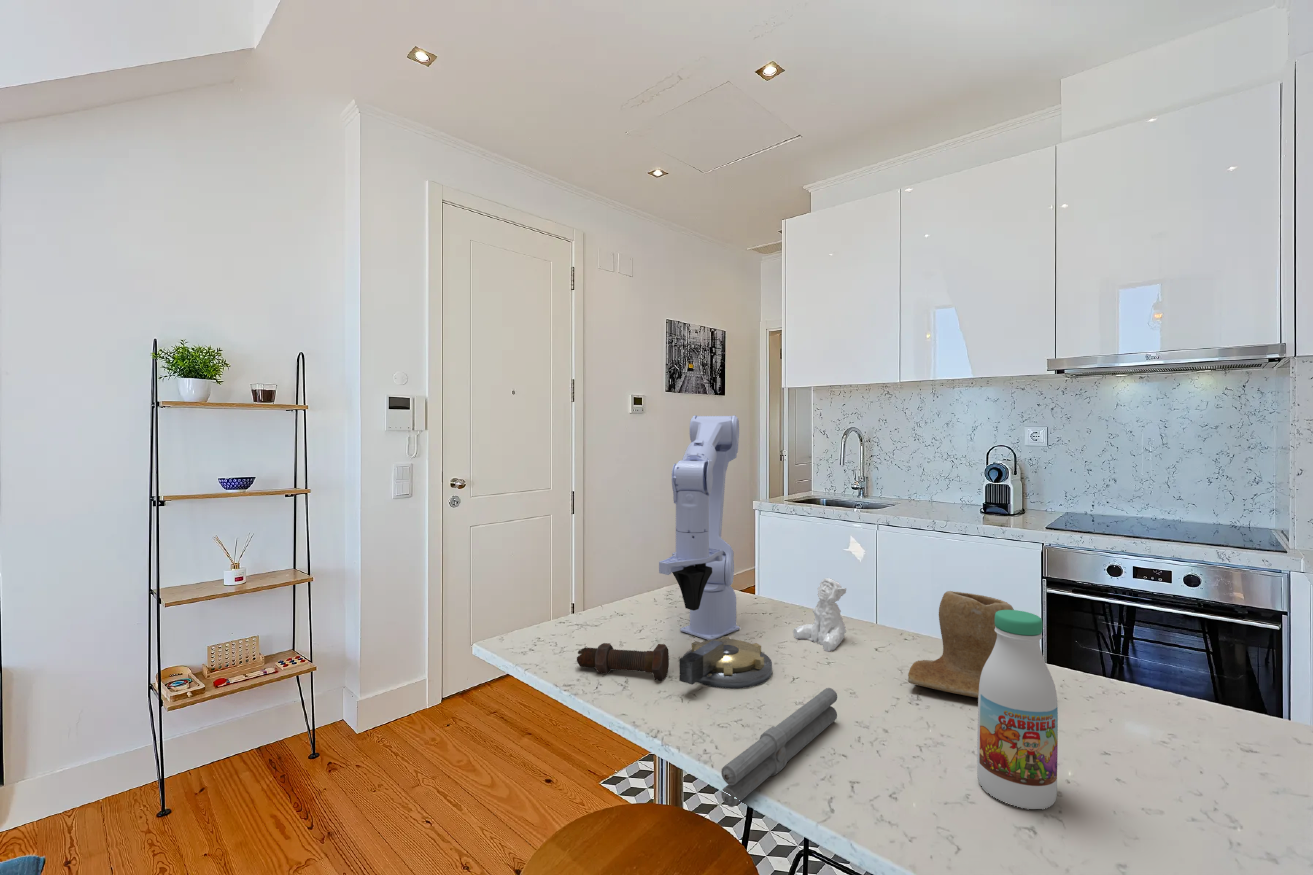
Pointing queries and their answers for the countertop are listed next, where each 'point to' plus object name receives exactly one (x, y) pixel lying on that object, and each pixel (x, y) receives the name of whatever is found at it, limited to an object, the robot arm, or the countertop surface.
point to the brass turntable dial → (719, 658)
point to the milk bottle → (1018, 716)
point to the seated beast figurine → (825, 617)
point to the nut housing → (738, 676)
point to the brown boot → (961, 644)
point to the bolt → (626, 660)
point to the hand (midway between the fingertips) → (692, 608)
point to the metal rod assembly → (777, 747)
